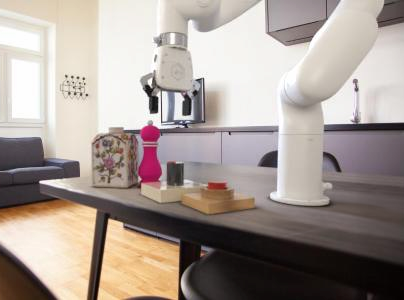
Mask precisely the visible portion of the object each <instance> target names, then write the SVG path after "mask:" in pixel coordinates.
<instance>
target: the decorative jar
mask: <svg viewBox="0 0 404 300" xmlns="http://www.w3.org/2000/svg"><path fill="white" fill-rule="evenodd" d="M90 145H91V148H90V149H91V151H90V154H91V157H90V158H91V159H90V160H91V163H90V164H91V186H92V187H94V188H116V189H128V188H130V187H132V186H133V185H135V184H137V183H139V178H140V176H139V175H138V169H139V166H140V163H139V161H140V159H139V140H138V138H137V136H136V134H135V133H132V132H125V127H124V126H109V127H108V131H107V132H104V133H103V132H100V133H96V135H95V136H94V137H93V139H92V141H91V142H90Z"/></svg>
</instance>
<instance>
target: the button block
mask: <svg viewBox="0 0 404 300" xmlns="http://www.w3.org/2000/svg"><path fill="white" fill-rule="evenodd" d="M181 204H182V205H184V206H187V207H189V208H191V209H194V210H197V211H199V212H201V213H204V214H206V215H213V214H219V213H227V212H234V211H241V210H242V211H243V210H250V209H255V197H253V196H249V195H246V194H242V193H237V192H235V188H234V187H232V186H229V185H227V189H224V190H215V189H208V184H206V186H202V187H201V192H199V193H188V194H182V201H181Z"/></svg>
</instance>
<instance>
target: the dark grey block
mask: <svg viewBox="0 0 404 300" xmlns="http://www.w3.org/2000/svg"><path fill="white" fill-rule="evenodd" d="M184 180H185V162H183V161H176V160H175V161H174V160H171V161H167V162H166V181H167V185H173V186H179V185H184Z"/></svg>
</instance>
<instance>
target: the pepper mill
mask: <svg viewBox="0 0 404 300" xmlns="http://www.w3.org/2000/svg"><path fill="white" fill-rule="evenodd" d="M146 123H147V125H145V126H143V127H142V128H141V129H140V132H139V137H140V139H141V140H142V142H141V147H142V148H143V149H142V150H143V155H142V159H141V161H140V163H139V169H138V175H139V178H140V180H139V187H140V188H141V183H150V182H161V180H160V178H161V177H162V176H163V169H162V165H161V162H160V161H159V158H158V153H157V152H158V147H159V141H158V140H159V139H160V137H161V131H160V129H159V127H157V126H156V125H154V121H153V120H152V119H148V120H147V122H146Z"/></svg>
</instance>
